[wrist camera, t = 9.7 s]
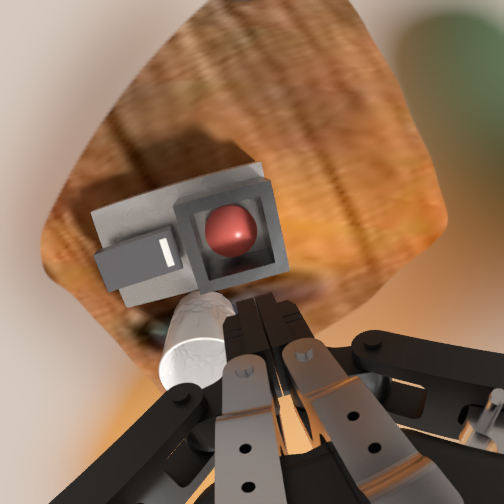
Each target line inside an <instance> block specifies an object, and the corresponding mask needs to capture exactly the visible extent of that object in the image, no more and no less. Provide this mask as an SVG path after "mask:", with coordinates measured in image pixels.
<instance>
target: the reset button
mask: <svg viewBox="0 0 504 504" xmlns="http://www.w3.org/2000/svg"><path fill="white" fill-rule="evenodd" d="M205 237H206V241H207V243H208V245H209V246H210V248H211V249H212V250H213V251H214V252H216V253H217V254H219V255H221V256H225V257H236V256H240V255H242V254H244V253H246V252H247V251H248V250H250V248H251V247H252V246H253V245H254V243H255V241H256V238H257V225H256V222H255V220H254V218H253V216H252V215H251V214H250V212H249V211H248V210H247V209H246V208H244V207H242V206H240V205H237V204H228V205H224V206H220V207H217V208H215V209H214V210H213V211H212V212H211V213H210V214H209V216H208V218H207V220H206V224H205Z"/></svg>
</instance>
